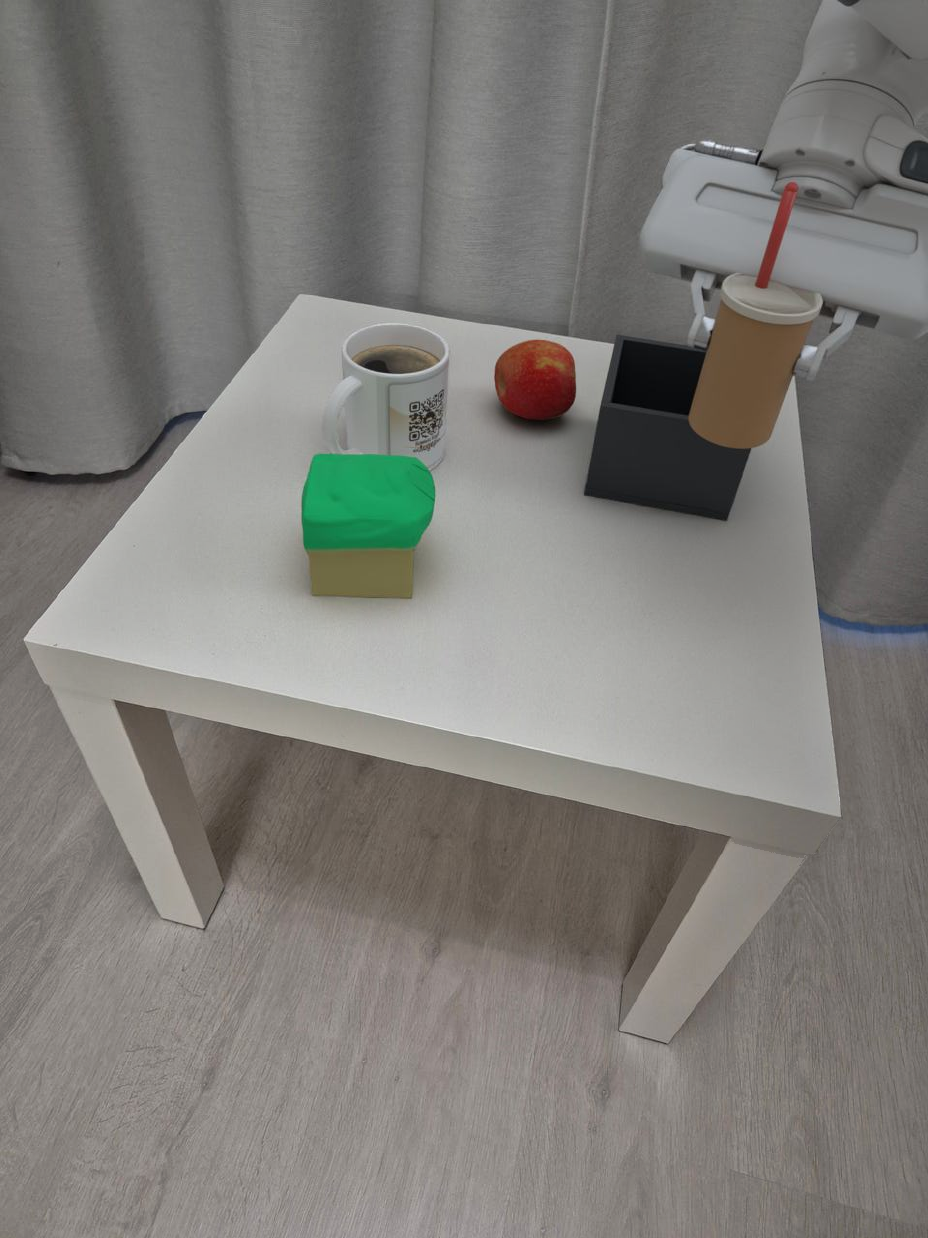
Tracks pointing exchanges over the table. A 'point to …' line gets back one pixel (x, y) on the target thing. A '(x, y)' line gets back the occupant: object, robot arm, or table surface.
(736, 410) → the paper cup
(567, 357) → the apple
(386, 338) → the mug
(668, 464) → the bin
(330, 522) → the cake
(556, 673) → the table surface
